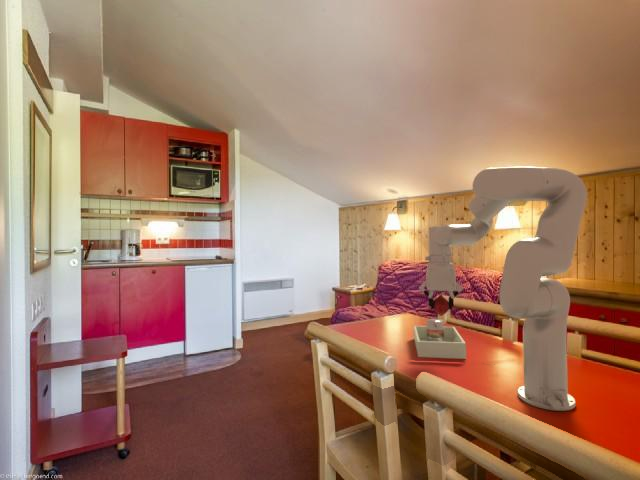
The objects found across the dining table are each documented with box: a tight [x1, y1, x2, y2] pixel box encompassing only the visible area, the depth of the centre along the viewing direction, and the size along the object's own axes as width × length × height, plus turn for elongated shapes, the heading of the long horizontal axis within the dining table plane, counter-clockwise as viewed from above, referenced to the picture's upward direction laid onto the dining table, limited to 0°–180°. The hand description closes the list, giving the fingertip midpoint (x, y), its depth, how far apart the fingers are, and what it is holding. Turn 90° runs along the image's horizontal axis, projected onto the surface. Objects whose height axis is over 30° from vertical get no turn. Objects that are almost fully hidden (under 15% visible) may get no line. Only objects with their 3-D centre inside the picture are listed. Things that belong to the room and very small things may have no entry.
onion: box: [432, 293, 450, 317], centre depth 126 cm, size 6×6×8 cm
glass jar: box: [426, 318, 445, 342], centre depth 137 cm, size 6×6×9 cm
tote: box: [413, 325, 467, 360], centre depth 131 cm, size 22×16×6 cm
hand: (441, 308), depth 126 cm, fingers closed on onion, 5 cm apart
